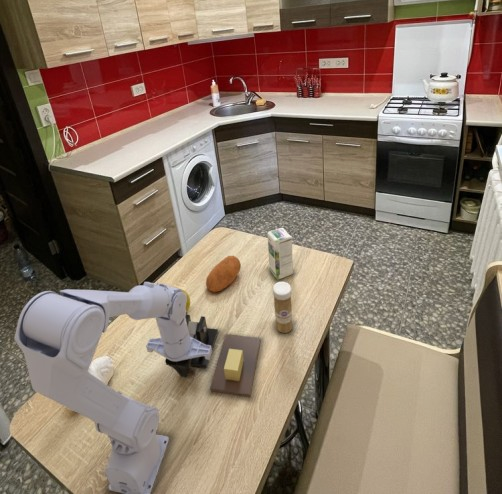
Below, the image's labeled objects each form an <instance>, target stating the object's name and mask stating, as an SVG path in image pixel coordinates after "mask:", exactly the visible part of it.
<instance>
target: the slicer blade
mask: <svg viewBox="0 0 502 494" xmlns="http://www.w3.org/2000/svg"><path fill="white" fill-rule="evenodd" d="M198 323H199V321H192V320H191V321H189V323H188V331H189V334H190V337H192V338H194V339H195V335H196V332H195V331H196V329H197V326H198ZM191 359H192V358H191ZM191 359H190V364H189V372H188V375H187V376H195V375H196V373H197V370H196V368H192V366H191Z"/></svg>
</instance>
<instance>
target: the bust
mask: <svg viewBox="0 0 502 494" xmlns="http://www.w3.org/2000/svg"><path fill="white" fill-rule="evenodd" d="M88 372H89V373H90V374H92V375H93V376H95V377H96V378H98V379H99V380H100V381H102V382H103V383H105V384H106V385H108V384H109V382H110V380H111V379H112V377H113V375H114V373H115V365H114V361H113V359H112V358H111V356H109V355H103V356H100V357H97V358H94V359H92V361H91V364H90V366H89V369H88ZM67 409H68V410H70V411H72V412H74V411H73V410H71V409H69V408H67Z"/></svg>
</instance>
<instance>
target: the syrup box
mask: <svg viewBox="0 0 502 494" xmlns="http://www.w3.org/2000/svg"><path fill="white" fill-rule="evenodd" d="M266 234H267V248H268V249H267V250H268V265H269V266H268V267H269V271H270V273H271V274H272V275H273V276H274V278H275V279H276V280H277V281H279V280H282V279H284V278H287V277H288V276H291V275H293V274H294V265H293V263H294V262H293V260H294V259H293V236H292V235H291V234H290V233H289V232H288V231H287V230H286V229H285V228H284V227H279V228H276V229H273V230H270V231H268V232H267V233H266Z"/></svg>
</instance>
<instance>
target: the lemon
mask: <svg viewBox="0 0 502 494" xmlns="http://www.w3.org/2000/svg"><path fill="white" fill-rule="evenodd" d="M181 290H182V291H183V293H185V294H186V293H187V302H186V313H187V312H188V311H189V309H190V307H191V297H190V295H189V294H188V292H187V291H186V290H184V289H181Z"/></svg>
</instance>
